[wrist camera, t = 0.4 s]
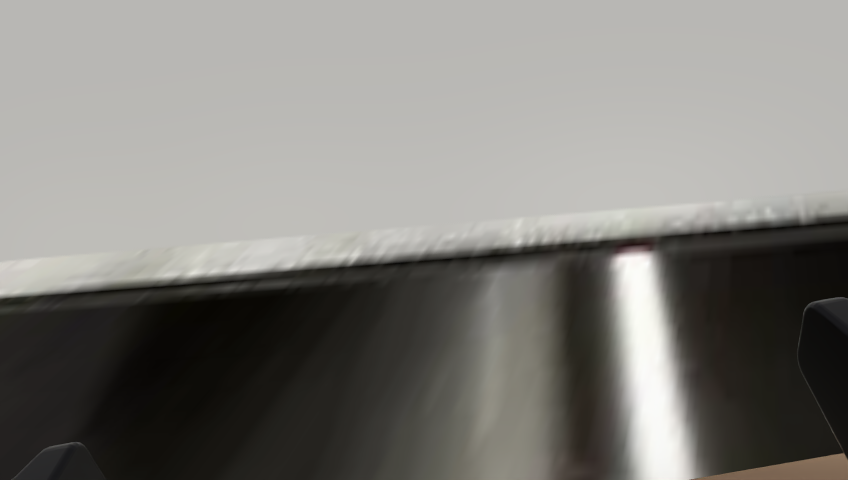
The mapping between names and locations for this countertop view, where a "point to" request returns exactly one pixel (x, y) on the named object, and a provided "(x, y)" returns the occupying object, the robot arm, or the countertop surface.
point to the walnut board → (794, 470)
